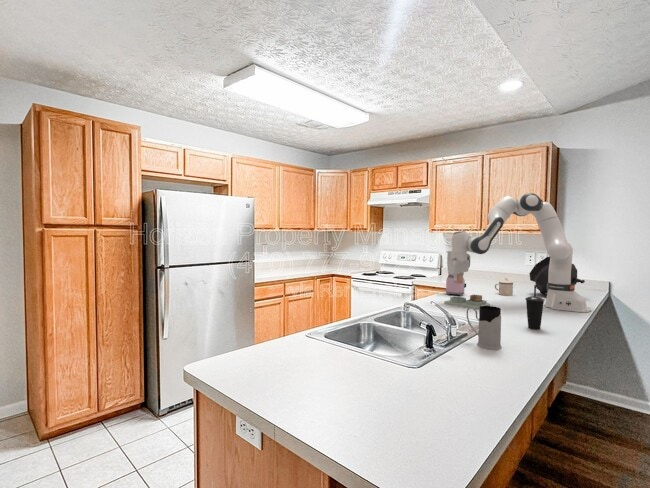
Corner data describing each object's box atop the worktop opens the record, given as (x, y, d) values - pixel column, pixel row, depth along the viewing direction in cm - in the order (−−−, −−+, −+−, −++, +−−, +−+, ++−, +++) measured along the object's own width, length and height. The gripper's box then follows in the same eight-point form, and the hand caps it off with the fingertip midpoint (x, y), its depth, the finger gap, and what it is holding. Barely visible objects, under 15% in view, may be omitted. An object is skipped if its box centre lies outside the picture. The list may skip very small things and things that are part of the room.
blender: (445, 295, 246) (446, 249, 245) (445, 292, 258) (446, 248, 257) (470, 296, 241) (471, 249, 240) (469, 294, 253) (469, 249, 252)
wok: (545, 293, 229) (521, 267, 247) (553, 310, 246) (531, 285, 264) (587, 269, 222) (559, 244, 240) (592, 289, 239) (566, 264, 257)
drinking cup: (526, 325, 169) (527, 283, 168) (545, 327, 164) (546, 285, 164) (523, 328, 163) (524, 285, 163) (542, 331, 158) (543, 286, 158)
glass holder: (494, 351, 132) (495, 311, 131) (460, 341, 143) (460, 304, 143) (506, 347, 137) (507, 308, 137) (472, 337, 149) (473, 302, 148)
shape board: (490, 306, 212) (490, 300, 212) (480, 309, 202) (480, 303, 202) (454, 300, 228) (454, 295, 227) (444, 303, 218) (444, 298, 218)
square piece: (481, 303, 211) (482, 295, 211) (478, 305, 207) (478, 296, 207) (473, 302, 214) (473, 294, 214) (470, 303, 211) (470, 295, 211)
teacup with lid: (514, 294, 251) (515, 278, 250) (510, 296, 244) (510, 279, 244) (496, 292, 259) (497, 276, 259) (492, 294, 253) (492, 277, 252)
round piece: (464, 282, 218) (464, 274, 218) (460, 283, 215) (460, 275, 215) (456, 281, 222) (456, 273, 222) (452, 282, 219) (452, 274, 218)
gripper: (456, 258, 208) (455, 282, 209) (471, 257, 223) (470, 279, 223) (445, 258, 213) (445, 281, 213) (461, 256, 227) (460, 278, 228)
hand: (458, 280), depth 218 cm, fingers closed on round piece, 5 cm apart
